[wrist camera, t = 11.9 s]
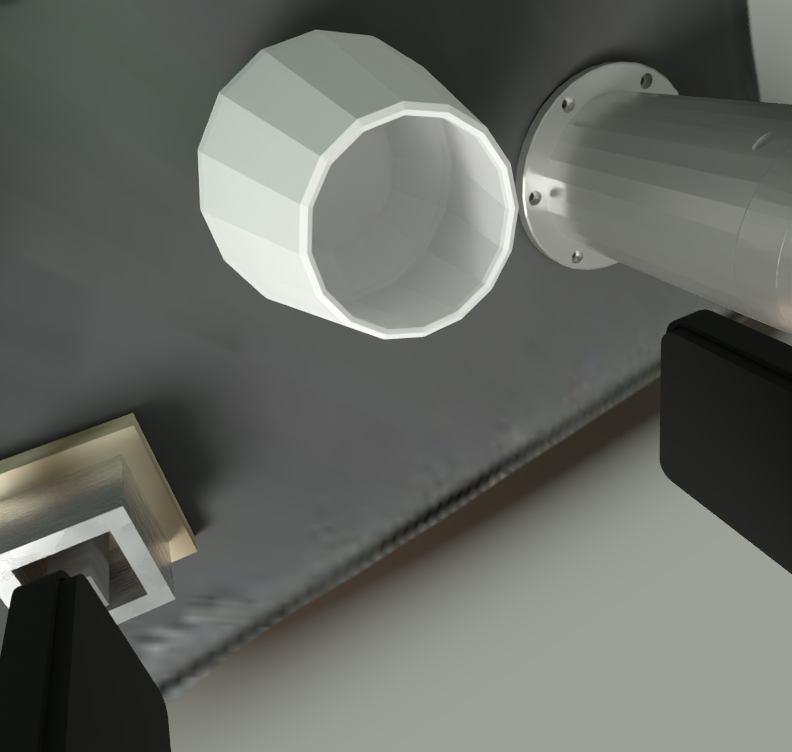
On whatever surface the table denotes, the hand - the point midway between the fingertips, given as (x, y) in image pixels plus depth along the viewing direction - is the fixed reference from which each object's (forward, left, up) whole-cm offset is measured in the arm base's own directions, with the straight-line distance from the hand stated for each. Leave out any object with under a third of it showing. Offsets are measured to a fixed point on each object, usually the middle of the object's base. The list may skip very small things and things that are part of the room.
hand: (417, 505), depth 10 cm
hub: (+13, +16, -27) cm, 34 cm away
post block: (+13, +16, -28) cm, 35 cm away
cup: (-6, +1, -28) cm, 29 cm away
